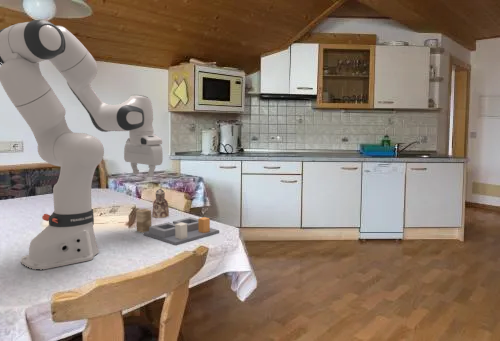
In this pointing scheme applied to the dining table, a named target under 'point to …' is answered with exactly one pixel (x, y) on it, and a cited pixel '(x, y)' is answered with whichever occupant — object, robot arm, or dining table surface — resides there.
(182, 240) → the socket board
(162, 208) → the figurine
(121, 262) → the dining table surface
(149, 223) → the wood plug
